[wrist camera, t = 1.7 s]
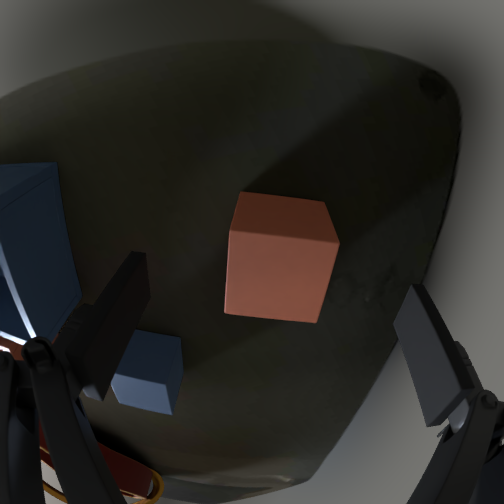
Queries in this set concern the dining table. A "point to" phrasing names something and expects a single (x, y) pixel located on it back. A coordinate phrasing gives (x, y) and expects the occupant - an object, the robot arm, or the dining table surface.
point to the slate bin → (34, 254)
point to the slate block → (150, 372)
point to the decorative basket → (115, 474)
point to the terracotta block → (279, 257)
